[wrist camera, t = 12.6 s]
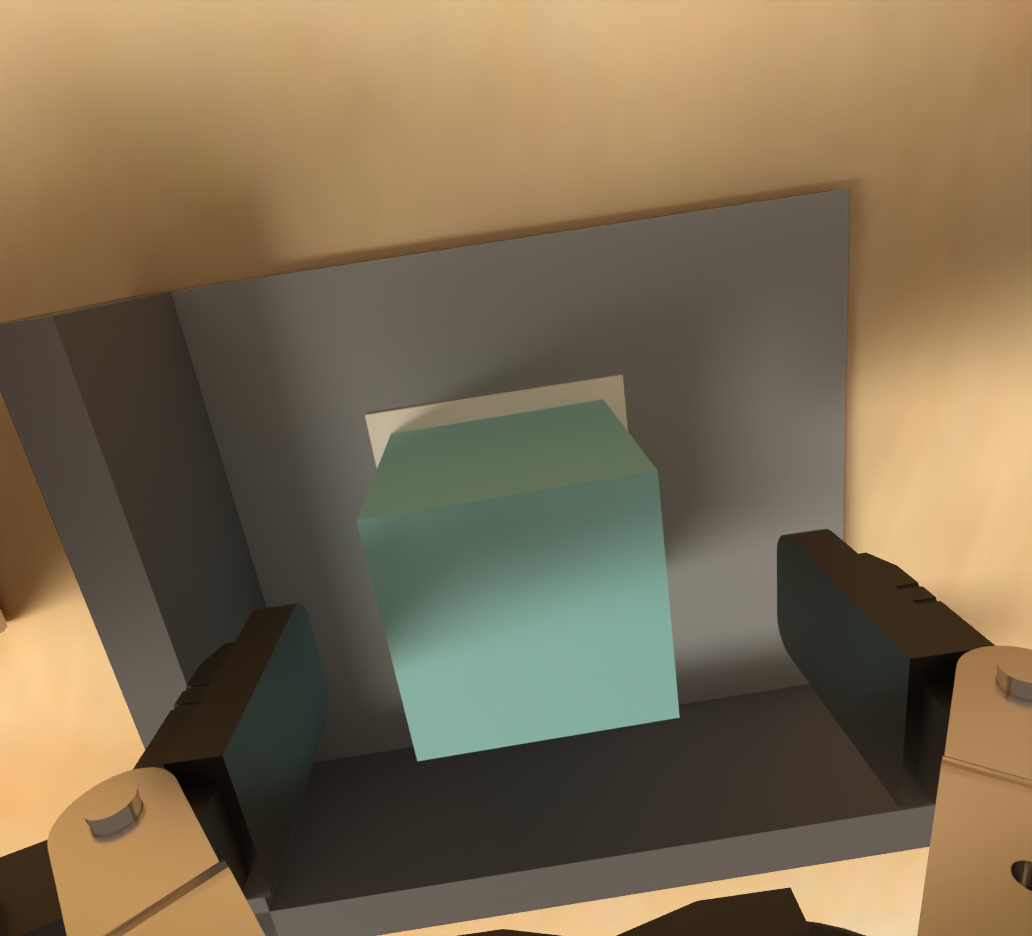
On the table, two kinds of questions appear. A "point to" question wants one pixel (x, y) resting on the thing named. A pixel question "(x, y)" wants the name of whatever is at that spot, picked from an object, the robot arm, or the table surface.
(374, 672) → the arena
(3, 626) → the milk carton
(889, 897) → the table surface
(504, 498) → the cube
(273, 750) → the robot arm
